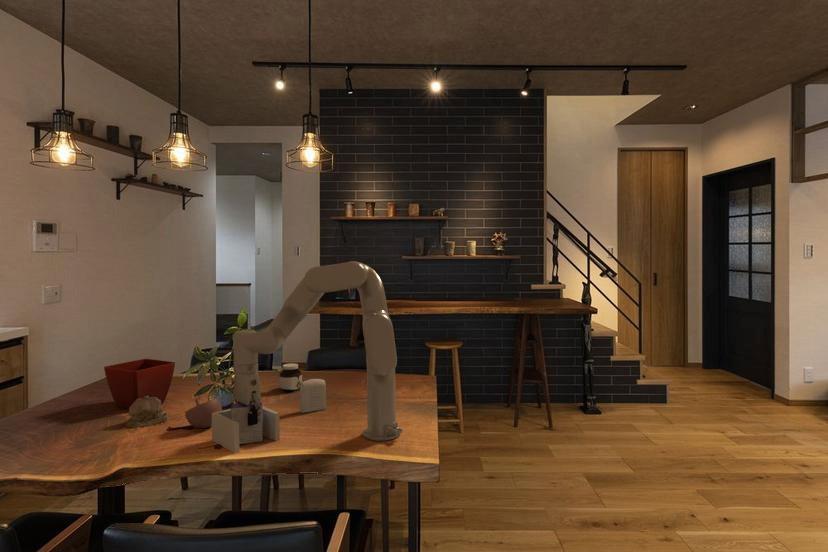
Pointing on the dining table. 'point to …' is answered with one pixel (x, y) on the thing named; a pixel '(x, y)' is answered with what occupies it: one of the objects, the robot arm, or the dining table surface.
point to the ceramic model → (146, 412)
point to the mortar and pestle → (203, 412)
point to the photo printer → (312, 395)
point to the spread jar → (290, 378)
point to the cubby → (228, 429)
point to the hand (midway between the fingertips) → (246, 421)
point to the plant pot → (139, 380)
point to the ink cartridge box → (247, 432)
